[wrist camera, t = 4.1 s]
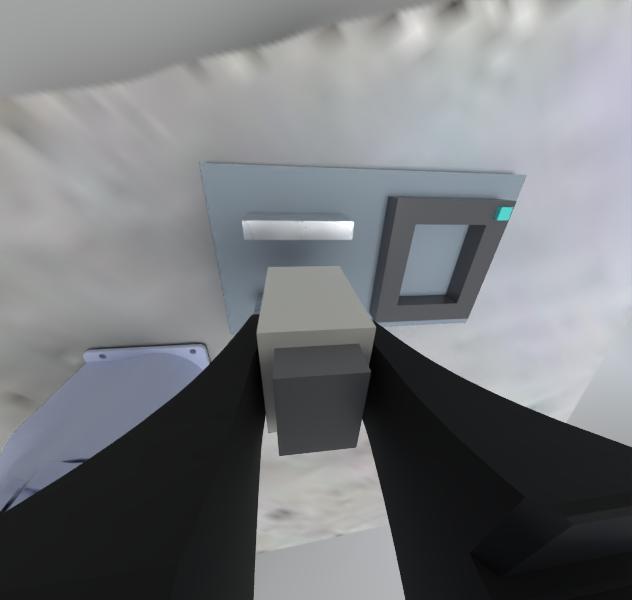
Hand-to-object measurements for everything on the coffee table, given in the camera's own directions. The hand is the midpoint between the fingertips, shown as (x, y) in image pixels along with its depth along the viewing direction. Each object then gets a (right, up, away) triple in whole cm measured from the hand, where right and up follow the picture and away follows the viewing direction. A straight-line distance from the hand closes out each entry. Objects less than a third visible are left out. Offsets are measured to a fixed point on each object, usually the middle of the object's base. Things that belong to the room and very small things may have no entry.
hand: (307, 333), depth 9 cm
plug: (0, +1, +1) cm, 2 cm away
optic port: (+9, +4, +8) cm, 13 cm away
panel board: (+4, +5, +9) cm, 11 cm away
